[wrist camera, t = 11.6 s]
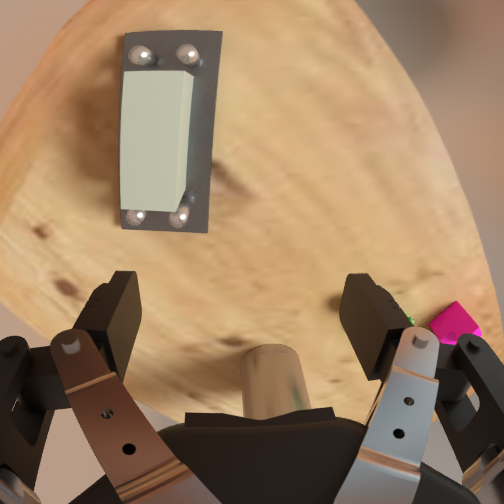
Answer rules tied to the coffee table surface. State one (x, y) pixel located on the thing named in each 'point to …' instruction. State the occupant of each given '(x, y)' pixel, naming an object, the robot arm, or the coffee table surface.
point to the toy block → (454, 324)
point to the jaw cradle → (201, 118)
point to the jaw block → (154, 139)
